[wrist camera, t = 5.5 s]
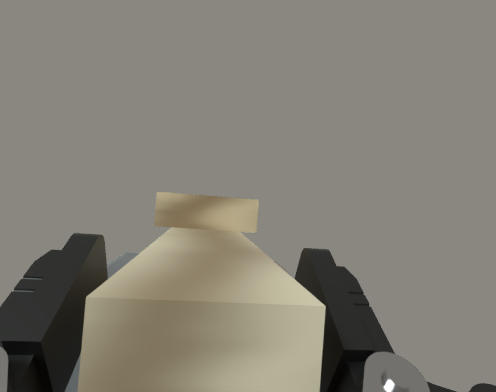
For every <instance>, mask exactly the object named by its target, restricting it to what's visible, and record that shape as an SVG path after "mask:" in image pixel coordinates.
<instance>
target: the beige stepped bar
mask: <svg viewBox="0 0 496 392" xmlns="http://www.w3.org/2000/svg"><path fill="white" fill-rule="evenodd" d="M258 204H259V200H254V199H242V198H229V197H217V196H204V195H192V194H179V193H167V192H157V199H156V211H155V222H154V226H160V227H172V228H170V229H169V230H168V231H167V232H165V233H164V234H163V235H162V236H160V237H159V238H158V239H157V240H156V241H154V242H153V243H152V244H151V245H149V246H148V247H147V248H146V249H145V250H143V251H142V252H141V253H140V254H138V255H137V256H136V257H135V258H133V259H132V260H131V261H130V262H129V263H127V264H126V265H125V266H124V267H122V268H121V269H120V270H119V271H118V272H116V273H115V274H114V275H113V276H111V277H110V278H109V279H108V280H106V281H105V282H104V283H103V284H102V285H100V286H99V287H98V288H97V289H95V290H94V291H93V292H92V293H90V294H89V295H88V296H87V297H86V304H85V315H84V326H83V337H82V348H81V359H80V370H79V382H78V392H320V379H321V365H322V351H323V337H324V323H325V309H326V306H325V305H324V304H323V303H321V302H320V301H319V300H318V299H317V298H316V297H314V296H313V295H312V294H311V293H310V292H309V291H308V290H306V289H305V288H304V287H303V286H302V285H301V284H299V283H298V282H297V281H296V280H295V279H294V278H293V277H291V276H290V275H289V274H288V273H287V272H286V271H284V270H283V269H282V268H281V267H280V266H279V265H278V264H276V263H275V262H274V261H273V260H272V259H270V258H269V257H268V256H267V255H266V254H265V253H264V252H262V251H261V250H260V249H259V248H258V247H257V246H256V245H254V244H253V243H252V242H251V241H249V240H248V239H247V238H246V237H245V236H244V235H243V234H242V233H241V232H249V233H256V230H257V229H256V228H257V216H258Z"/></svg>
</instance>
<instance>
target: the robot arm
mask: <svg viewBox="0 0 496 392" xmlns="http://www.w3.org/2000/svg"><path fill="white" fill-rule="evenodd" d="M106 280H108V273H107V263H106V253H105V242H104V237H103V236H102V235H95V234H80V233H74V234H73V235H72V236H71V237H70V239H69V241H68V242H67V243H66V245H65V246H64V248H63V249H62V250H50V251H49V252H48V253H46V254H45V255H43V256H42V257H40V258H39V259H37V260H36V261H35V262H34V263H33V264H32V265H31V267H30V268H29V269H28V271H27V272H26V274H25V275H24V277H23V279H21V280H20V281H19V283H18V284H17V285H16V287H15V288H14V292H11V293H10V295H9V296H8V297H7V299H6V300H5V301H4V303H3V304H2V305H1V307H0V392H65V390H66V387H67V385H68V383H69V380H70V378H71V375H72V373H73V370H74V368H75V366H76V363H77V361H78V358H79V356H80V353H81V348H82V337H83V326H84V315H85V304H86V297H87V296H88V295H89V294H90V293H92V292H93V291H94V290H95V289H97V288H98V287H99V286H100V285H102V284H103V283H104V282H105V281H106ZM295 280H296V281H297V282H298V283H299V284H301V285H302V286H303V287H304V288H305V289H306V290H308V291H309V292H310V293H311V294H312V295H313V296H314V297H316V298H317V299H318V300H319V301H320V302H321V303H323V304H324V305H325V306H326V309H325V323H324V337H323V351H322V365H321V379H320V392H456V391H453V390H450V389H446V388H443V387H440V386H437V385H434V384H432V383H429V382H427V381H426V380H425V378H424V377H423V375H422V374H421V373H420V372H419V370H418V369H417V368H416V367H415V366H414V365H412V364H411V363H410V362H408V361H407V360H406V359H404V358H402V357H401V356H398V355H396V354H395V353H394V351H393V349H392V347H391V345H390V343H389V341H388V340H387V338H386V336H385V334H384V332H383V330H382V328H381V326H380V324H379V322H378V320H377V318H376V316H375V314H374V312H373V310H372V308H371V307H369V302H368V300H367V299H366V297H365V295H363V291H362V289H361V287H360V285H359V283H358V281H357V279H356V278H355V277H354V276H353V275H352V274H351V273H350V272H349V271H348V270H347V269H346V268H345V267H339V266H336V264H335V262H334V260H333V257H332V255H331V253H330V251H329V250H327V249H311V248H304V249H303V251H302V253H301V257H300V261H299V265H298V268H297V272H296V276H295ZM469 392H496V386H494V385H491V384H484V383H483V384H477V385H475V386H473V387H472V388H471V390H470V391H469Z"/></svg>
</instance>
